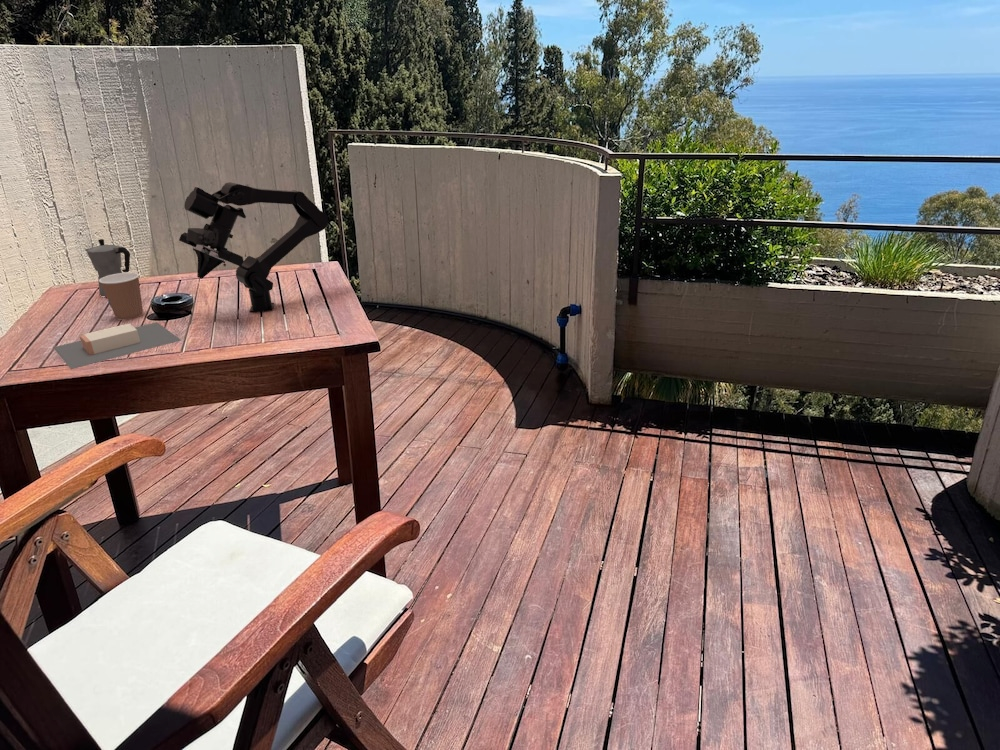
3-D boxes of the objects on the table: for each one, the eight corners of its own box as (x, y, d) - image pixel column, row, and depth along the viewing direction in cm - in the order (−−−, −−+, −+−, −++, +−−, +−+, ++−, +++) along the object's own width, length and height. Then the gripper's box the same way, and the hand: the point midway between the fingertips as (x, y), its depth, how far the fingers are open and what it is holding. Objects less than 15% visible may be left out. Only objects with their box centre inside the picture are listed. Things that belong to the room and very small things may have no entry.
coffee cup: (127, 310, 202) (116, 271, 197) (156, 311, 200) (146, 272, 195) (102, 322, 193) (90, 281, 188) (133, 323, 191) (121, 283, 186)
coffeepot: (87, 297, 215) (71, 242, 208) (108, 289, 224) (92, 235, 216) (130, 299, 213) (115, 243, 205) (149, 290, 221) (135, 236, 214)
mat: (157, 323, 191) (156, 322, 191) (181, 341, 177) (181, 340, 177) (53, 348, 175) (52, 347, 175) (71, 370, 161) (70, 369, 161)
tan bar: (129, 323, 180) (79, 335, 172) (137, 329, 175) (86, 342, 168) (132, 335, 181) (83, 347, 174) (140, 342, 176) (90, 355, 169)
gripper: (175, 205, 180) (152, 259, 181) (226, 226, 174) (203, 281, 175) (204, 219, 191) (183, 270, 191) (253, 239, 185) (232, 291, 185)
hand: (199, 277), depth 185 cm, fingers closed
